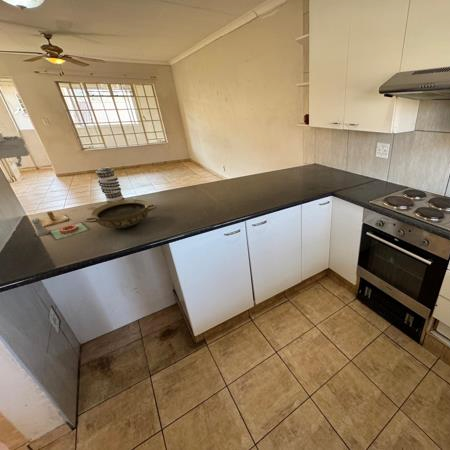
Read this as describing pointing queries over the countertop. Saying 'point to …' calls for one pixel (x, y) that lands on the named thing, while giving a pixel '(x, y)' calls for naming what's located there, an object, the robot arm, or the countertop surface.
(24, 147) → the robot arm
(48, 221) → the holder
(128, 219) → the ceramic bowl
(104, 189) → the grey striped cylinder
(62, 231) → the ring
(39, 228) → the rook chess piece
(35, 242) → the countertop surface
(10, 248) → the countertop surface
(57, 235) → the mat
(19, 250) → the countertop surface
